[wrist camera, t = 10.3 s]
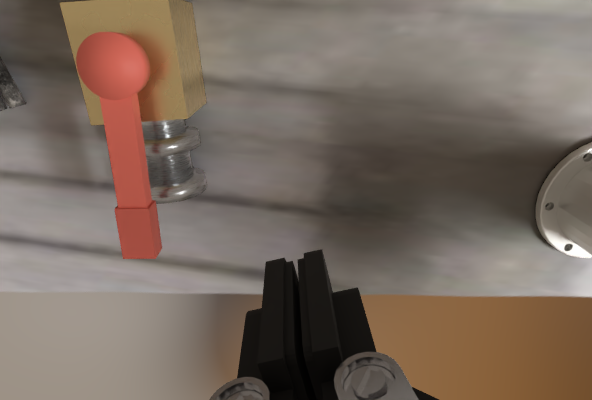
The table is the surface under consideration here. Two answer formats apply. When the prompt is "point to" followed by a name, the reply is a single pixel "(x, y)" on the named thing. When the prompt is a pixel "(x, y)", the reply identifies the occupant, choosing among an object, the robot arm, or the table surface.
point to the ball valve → (154, 83)
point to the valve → (9, 89)
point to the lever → (124, 134)
